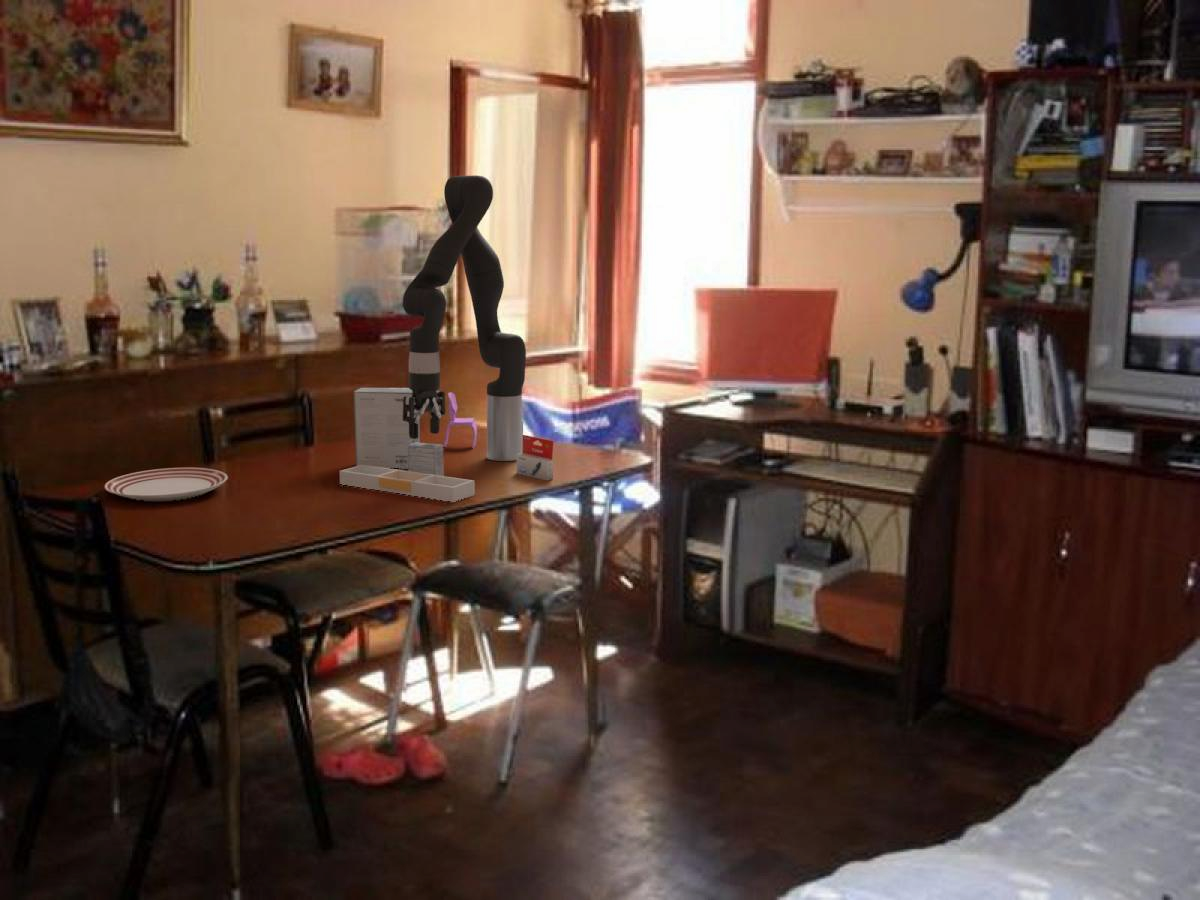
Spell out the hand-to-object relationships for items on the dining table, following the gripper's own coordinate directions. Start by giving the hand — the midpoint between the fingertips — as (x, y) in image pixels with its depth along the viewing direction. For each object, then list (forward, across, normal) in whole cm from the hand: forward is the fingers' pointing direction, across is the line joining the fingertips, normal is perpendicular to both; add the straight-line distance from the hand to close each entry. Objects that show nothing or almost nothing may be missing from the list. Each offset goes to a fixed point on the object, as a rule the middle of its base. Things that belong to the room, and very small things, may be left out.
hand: (424, 435), depth 328 cm
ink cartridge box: (+11, +18, -21) cm, 30 cm away
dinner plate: (+12, -43, +43) cm, 62 cm away
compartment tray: (+11, -12, -3) cm, 16 cm away
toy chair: (+11, +38, +16) cm, 43 cm away
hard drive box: (+11, +7, +17) cm, 22 cm away
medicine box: (+11, 0, 0) cm, 11 cm away
